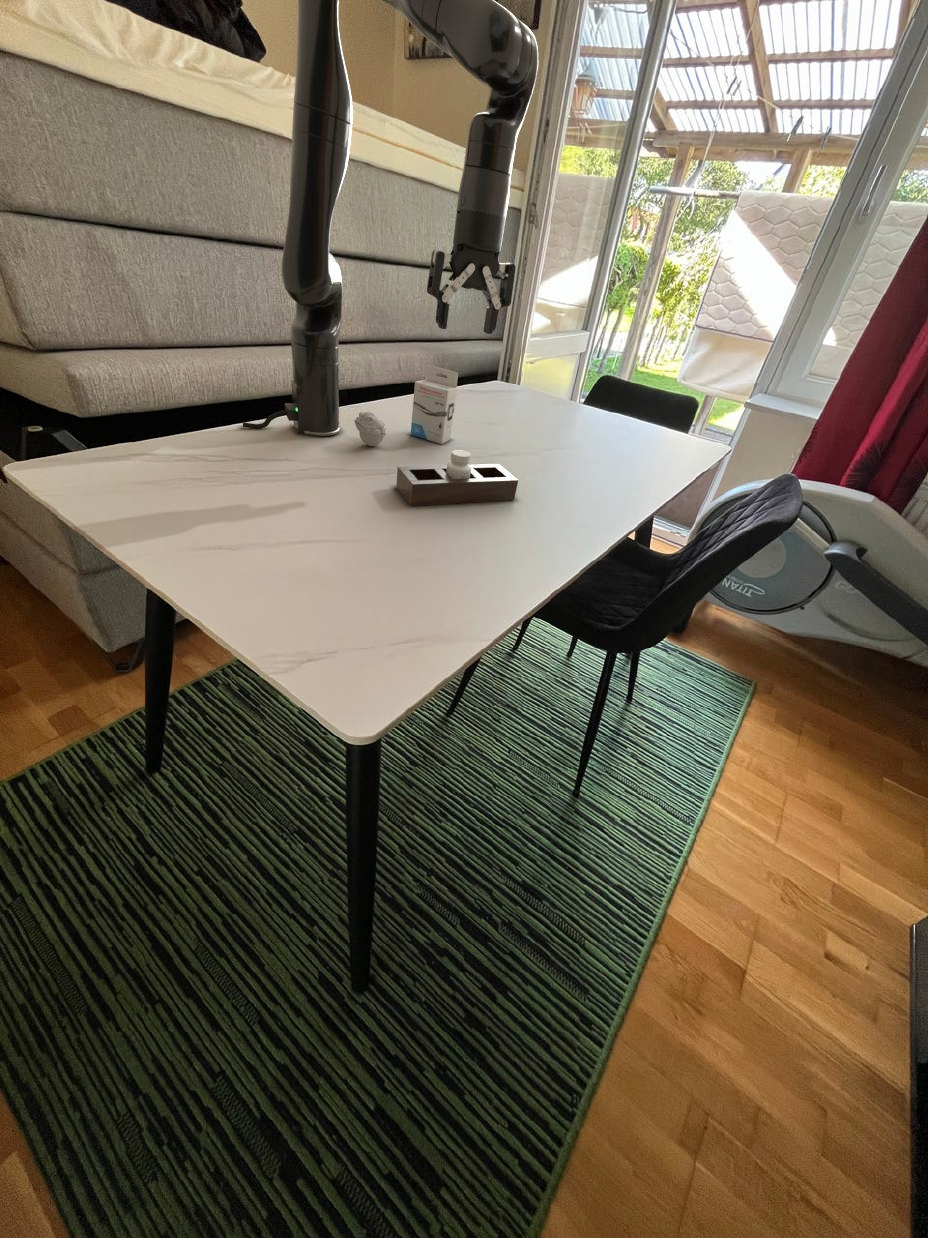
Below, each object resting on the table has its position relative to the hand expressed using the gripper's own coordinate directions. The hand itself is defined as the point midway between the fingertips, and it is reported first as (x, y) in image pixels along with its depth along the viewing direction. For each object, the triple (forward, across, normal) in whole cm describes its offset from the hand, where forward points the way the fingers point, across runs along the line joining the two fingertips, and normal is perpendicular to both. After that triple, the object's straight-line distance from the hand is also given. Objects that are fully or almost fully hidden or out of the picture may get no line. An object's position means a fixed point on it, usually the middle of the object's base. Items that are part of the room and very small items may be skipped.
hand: (465, 330), depth 87 cm
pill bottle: (+26, +1, +8) cm, 27 cm away
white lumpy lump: (+26, +11, -17) cm, 33 cm away
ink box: (+26, -5, -23) cm, 35 cm away
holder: (+26, +1, +8) cm, 27 cm away
